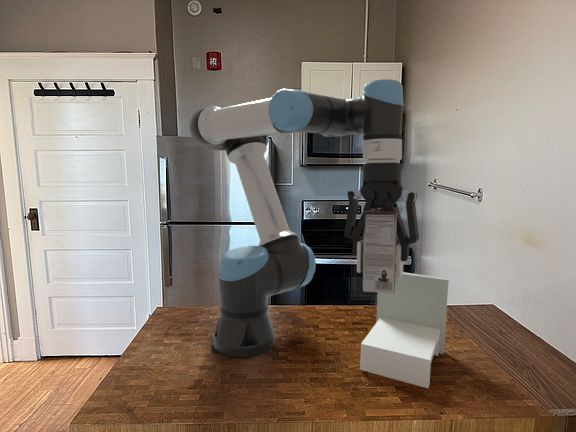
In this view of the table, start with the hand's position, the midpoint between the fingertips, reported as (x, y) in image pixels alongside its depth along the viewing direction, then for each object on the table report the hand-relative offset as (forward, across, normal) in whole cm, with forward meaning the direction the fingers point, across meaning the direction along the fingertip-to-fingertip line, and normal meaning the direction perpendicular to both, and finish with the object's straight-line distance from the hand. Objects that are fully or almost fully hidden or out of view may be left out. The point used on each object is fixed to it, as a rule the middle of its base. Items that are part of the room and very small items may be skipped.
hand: (379, 273), depth 77 cm
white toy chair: (+22, +3, +7) cm, 23 cm away
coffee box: (+3, 0, 0) cm, 3 cm away
